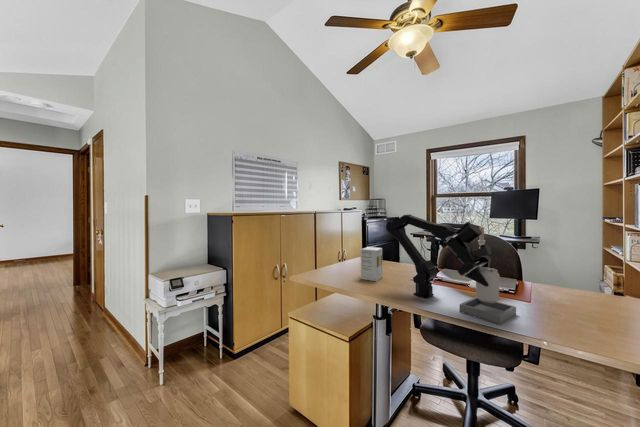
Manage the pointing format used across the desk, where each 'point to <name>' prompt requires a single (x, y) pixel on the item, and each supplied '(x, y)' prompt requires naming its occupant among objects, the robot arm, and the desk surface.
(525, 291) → the desk surface
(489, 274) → the can
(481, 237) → the candlestick
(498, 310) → the well tray
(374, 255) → the supplement box
